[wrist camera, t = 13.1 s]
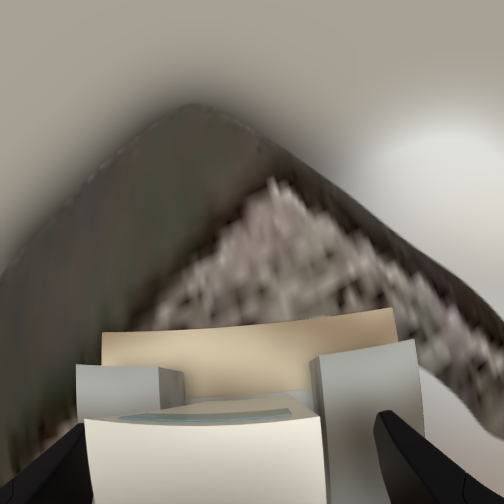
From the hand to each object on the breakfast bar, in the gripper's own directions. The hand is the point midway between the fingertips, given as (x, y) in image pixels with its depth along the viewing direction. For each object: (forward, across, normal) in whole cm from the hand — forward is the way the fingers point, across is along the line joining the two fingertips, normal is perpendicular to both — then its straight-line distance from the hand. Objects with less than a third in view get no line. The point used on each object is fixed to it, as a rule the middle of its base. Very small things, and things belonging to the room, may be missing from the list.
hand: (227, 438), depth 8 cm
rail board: (+6, 0, +8) cm, 10 cm away
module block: (+5, 0, +7) cm, 8 cm away
